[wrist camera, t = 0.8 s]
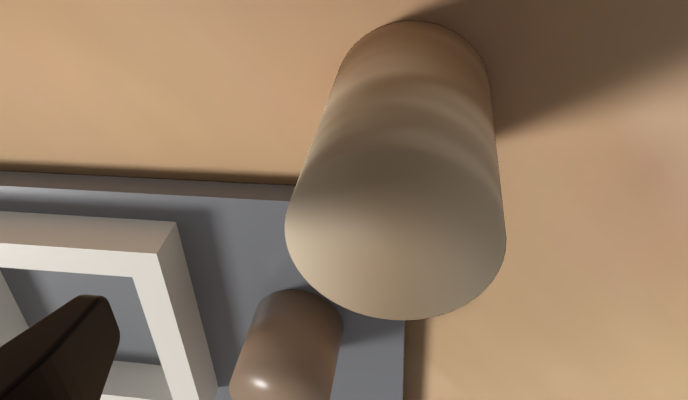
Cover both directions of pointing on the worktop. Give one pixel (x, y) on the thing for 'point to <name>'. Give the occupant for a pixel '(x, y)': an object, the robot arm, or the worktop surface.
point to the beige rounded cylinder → (402, 179)
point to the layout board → (188, 289)
